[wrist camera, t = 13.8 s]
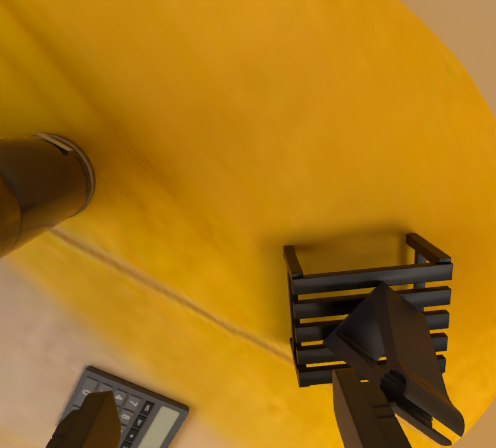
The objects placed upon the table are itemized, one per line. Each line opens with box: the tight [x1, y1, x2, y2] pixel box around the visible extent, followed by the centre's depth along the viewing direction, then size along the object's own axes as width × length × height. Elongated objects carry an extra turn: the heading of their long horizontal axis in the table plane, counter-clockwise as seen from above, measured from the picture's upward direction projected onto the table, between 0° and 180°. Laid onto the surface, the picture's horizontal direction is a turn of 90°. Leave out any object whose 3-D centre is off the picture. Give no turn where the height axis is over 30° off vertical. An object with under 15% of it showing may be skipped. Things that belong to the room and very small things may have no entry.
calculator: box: [56, 367, 189, 448], centre depth 50 cm, size 12×1×15 cm
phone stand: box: [323, 282, 465, 446], centre depth 32 cm, size 9×6×12 cm, turn 141°
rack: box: [283, 233, 453, 387], centre depth 42 cm, size 16×14×8 cm
